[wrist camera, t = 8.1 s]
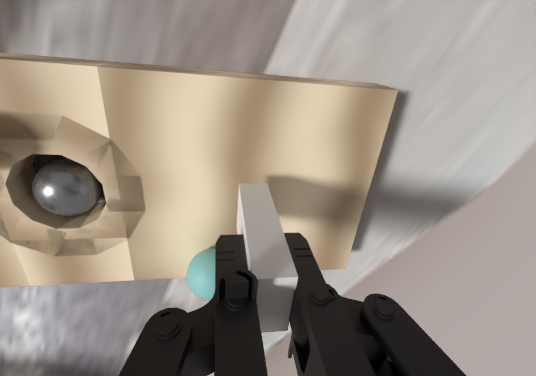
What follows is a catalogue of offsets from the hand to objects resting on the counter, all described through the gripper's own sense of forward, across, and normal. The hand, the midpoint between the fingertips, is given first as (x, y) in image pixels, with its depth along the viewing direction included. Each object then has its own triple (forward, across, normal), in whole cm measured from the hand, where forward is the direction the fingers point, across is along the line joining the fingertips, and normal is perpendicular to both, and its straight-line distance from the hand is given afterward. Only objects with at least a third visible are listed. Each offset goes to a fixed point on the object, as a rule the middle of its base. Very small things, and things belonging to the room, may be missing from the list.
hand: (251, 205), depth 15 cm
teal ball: (0, -2, -5) cm, 6 cm away
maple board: (+4, -4, 0) cm, 6 cm away
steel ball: (+3, -10, 0) cm, 10 cm away
